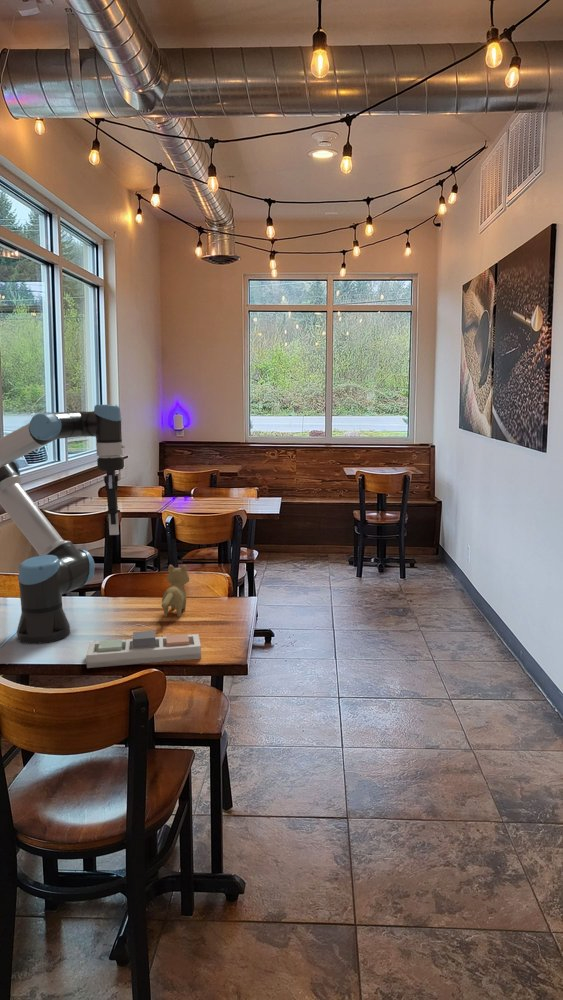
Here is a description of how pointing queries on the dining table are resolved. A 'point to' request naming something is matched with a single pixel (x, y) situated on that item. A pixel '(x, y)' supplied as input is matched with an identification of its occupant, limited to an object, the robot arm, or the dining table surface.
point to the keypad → (143, 653)
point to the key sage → (110, 645)
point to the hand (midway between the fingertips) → (114, 534)
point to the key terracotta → (177, 640)
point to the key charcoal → (144, 639)
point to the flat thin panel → (131, 626)
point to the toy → (176, 590)
